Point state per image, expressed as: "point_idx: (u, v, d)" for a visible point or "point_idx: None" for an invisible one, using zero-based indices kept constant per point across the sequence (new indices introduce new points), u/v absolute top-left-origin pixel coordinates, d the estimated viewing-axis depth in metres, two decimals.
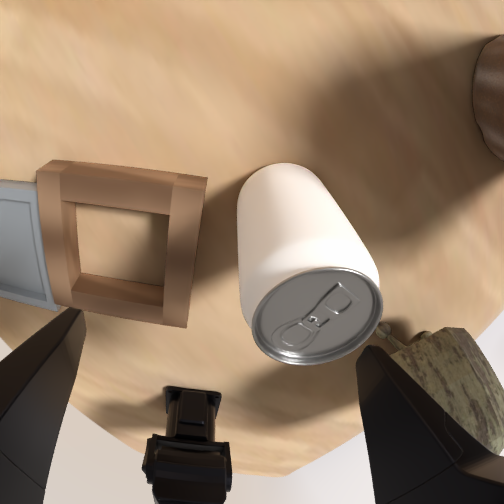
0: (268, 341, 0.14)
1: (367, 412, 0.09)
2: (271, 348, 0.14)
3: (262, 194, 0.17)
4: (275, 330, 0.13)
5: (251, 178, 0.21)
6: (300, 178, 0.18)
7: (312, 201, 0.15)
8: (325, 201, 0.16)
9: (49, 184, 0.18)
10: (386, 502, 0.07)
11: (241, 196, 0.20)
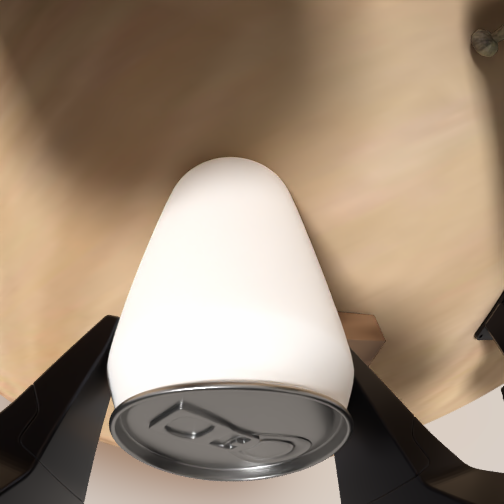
0: (277, 462, 0.08)
1: None
2: (296, 458, 0.08)
3: None
4: (253, 462, 0.08)
5: None
6: None
7: None
8: None
9: None
10: None
11: None
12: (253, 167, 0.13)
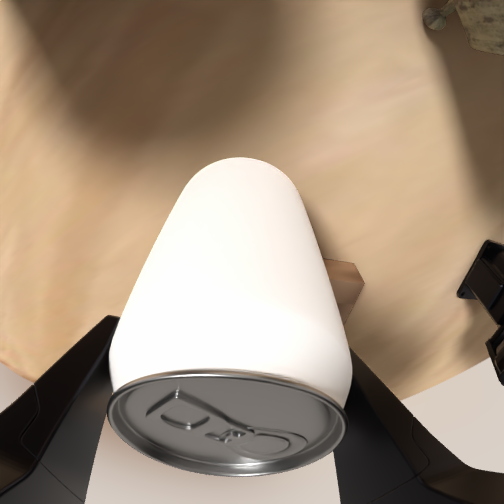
0: (273, 460, 0.08)
1: None
2: (292, 456, 0.08)
3: None
4: (249, 458, 0.08)
5: None
6: None
7: None
8: None
9: None
10: None
11: None
12: (263, 167, 0.14)
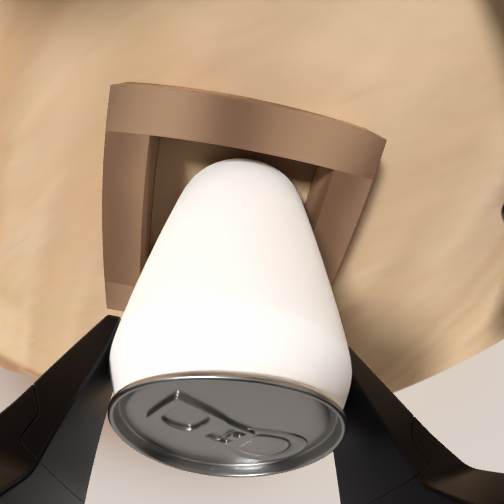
0: (273, 460, 0.08)
1: None
2: (292, 456, 0.08)
3: None
4: (249, 458, 0.08)
5: None
6: None
7: None
8: None
9: (121, 296, 0.17)
10: None
11: None
12: (263, 168, 0.14)
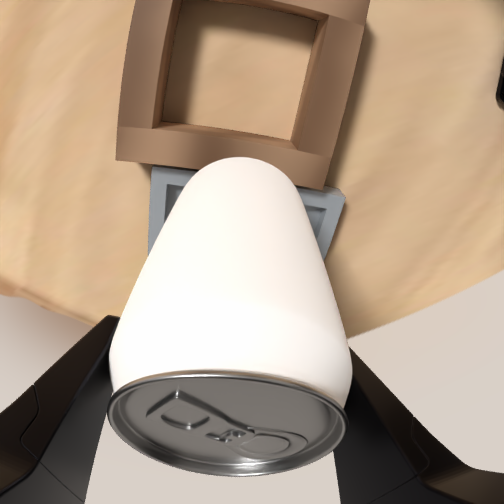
0: (274, 459, 0.08)
1: None
2: (292, 456, 0.08)
3: None
4: (249, 458, 0.08)
5: None
6: None
7: None
8: None
9: (131, 142, 0.16)
10: None
11: None
12: (262, 167, 0.14)
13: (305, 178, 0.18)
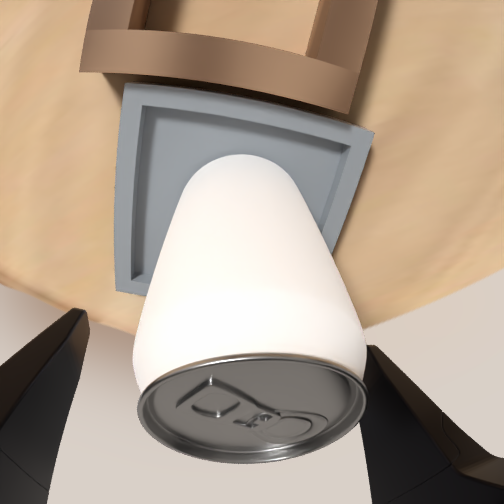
0: (294, 443, 0.08)
1: None
2: (312, 438, 0.08)
3: None
4: (271, 443, 0.08)
5: None
6: None
7: None
8: (157, 261, 0.11)
9: (101, 48, 0.10)
10: None
11: None
12: (264, 164, 0.14)
13: (326, 96, 0.12)
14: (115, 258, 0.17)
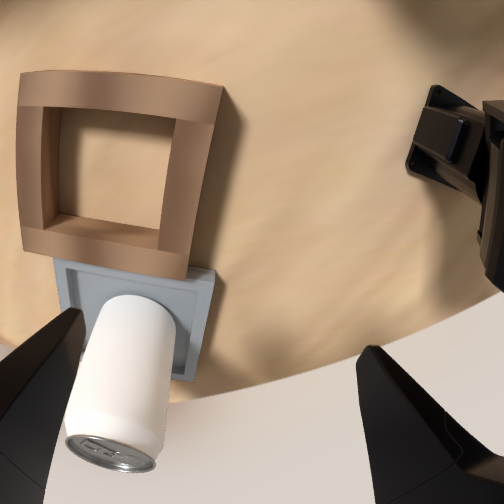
0: (138, 466, 0.16)
1: (367, 412, 0.09)
2: (145, 466, 0.16)
3: None
4: (127, 464, 0.16)
5: None
6: None
7: None
8: None
9: (31, 239, 0.18)
10: (386, 502, 0.07)
11: None
12: (139, 307, 0.22)
13: (168, 272, 0.20)
14: None
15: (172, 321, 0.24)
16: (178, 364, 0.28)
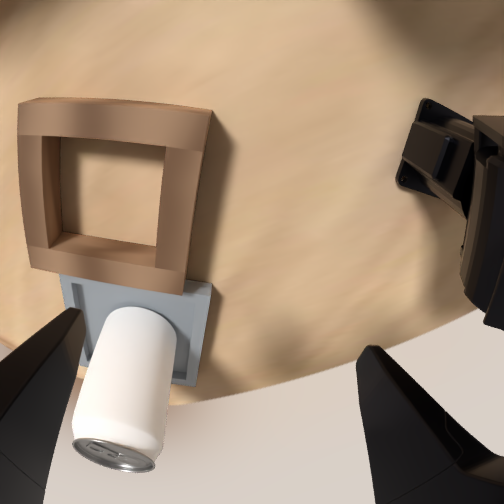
0: (139, 466, 0.17)
1: (367, 412, 0.09)
2: (146, 466, 0.17)
3: None
4: (129, 464, 0.17)
5: None
6: None
7: None
8: None
9: (38, 257, 0.19)
10: (386, 503, 0.07)
11: None
12: (141, 319, 0.23)
13: (165, 287, 0.21)
14: None
15: (172, 331, 0.25)
16: (180, 370, 0.29)
